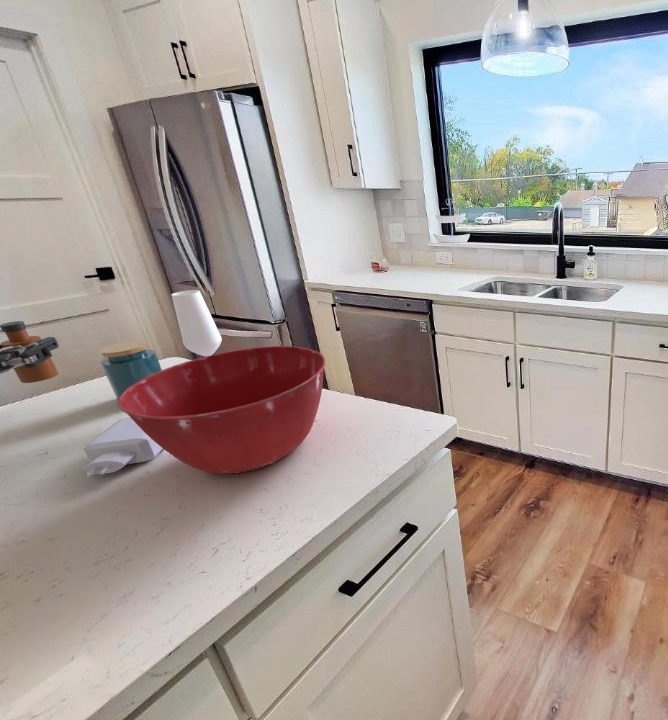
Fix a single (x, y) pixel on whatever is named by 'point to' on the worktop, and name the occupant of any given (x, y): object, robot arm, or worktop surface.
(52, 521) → the worktop surface
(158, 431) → the mixing bowl
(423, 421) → the worktop surface
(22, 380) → the amber bottle
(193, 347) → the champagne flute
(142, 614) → the worktop surface
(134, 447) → the charger
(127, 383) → the teal jar
